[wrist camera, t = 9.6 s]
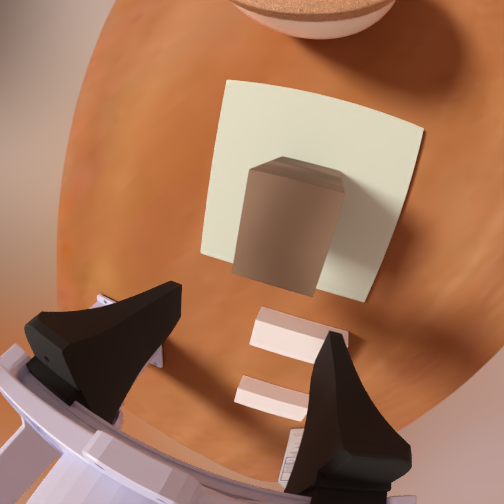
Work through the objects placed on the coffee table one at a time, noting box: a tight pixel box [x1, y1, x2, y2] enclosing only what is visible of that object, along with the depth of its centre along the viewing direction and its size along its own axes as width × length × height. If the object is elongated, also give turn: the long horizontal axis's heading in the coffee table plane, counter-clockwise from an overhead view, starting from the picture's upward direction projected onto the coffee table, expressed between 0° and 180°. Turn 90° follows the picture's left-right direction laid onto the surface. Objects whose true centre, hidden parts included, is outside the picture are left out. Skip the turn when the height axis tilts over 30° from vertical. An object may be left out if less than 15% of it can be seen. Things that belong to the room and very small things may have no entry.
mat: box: [201, 80, 424, 302], centre depth 19 cm, size 14×14×1 cm
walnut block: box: [232, 156, 345, 297], centre depth 15 cm, size 4×5×8 cm
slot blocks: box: [234, 306, 348, 421], centre depth 25 cm, size 8×13×2 cm, turn 169°
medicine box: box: [278, 428, 304, 488], centre depth 27 cm, size 8×4×9 cm, turn 22°
